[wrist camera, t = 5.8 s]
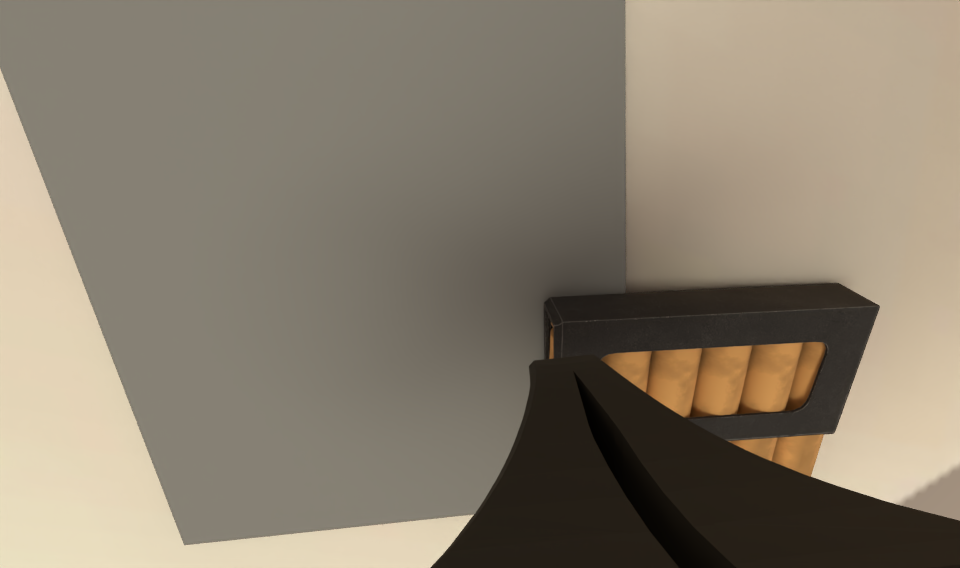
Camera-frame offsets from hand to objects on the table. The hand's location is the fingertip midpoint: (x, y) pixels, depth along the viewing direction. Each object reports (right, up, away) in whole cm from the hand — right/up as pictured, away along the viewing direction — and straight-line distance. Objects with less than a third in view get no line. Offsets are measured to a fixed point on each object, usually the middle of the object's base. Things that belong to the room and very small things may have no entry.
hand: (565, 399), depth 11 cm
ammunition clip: (+6, +2, +7) cm, 9 cm away
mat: (-6, +2, +7) cm, 10 cm away
